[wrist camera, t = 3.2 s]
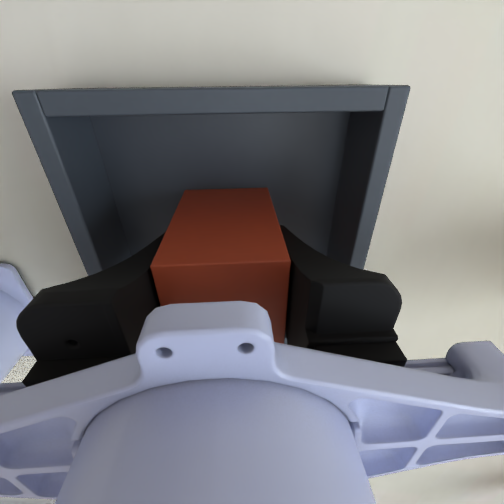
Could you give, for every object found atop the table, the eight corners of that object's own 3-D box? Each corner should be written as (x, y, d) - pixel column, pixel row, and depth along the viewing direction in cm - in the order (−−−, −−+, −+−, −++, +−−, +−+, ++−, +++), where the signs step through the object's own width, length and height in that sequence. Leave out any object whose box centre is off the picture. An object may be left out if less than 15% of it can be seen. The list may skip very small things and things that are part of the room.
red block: (195, 258, 17) (173, 357, 11) (184, 189, 14) (149, 265, 8) (266, 256, 17) (283, 351, 11) (267, 187, 14) (291, 260, 8)
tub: (138, 313, 19) (121, 355, 16) (65, 88, 12) (9, 90, 9) (328, 304, 20) (344, 343, 17) (369, 84, 12) (412, 85, 9)
